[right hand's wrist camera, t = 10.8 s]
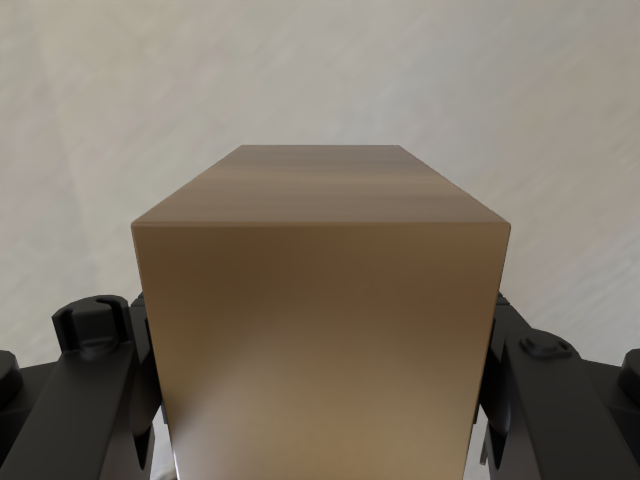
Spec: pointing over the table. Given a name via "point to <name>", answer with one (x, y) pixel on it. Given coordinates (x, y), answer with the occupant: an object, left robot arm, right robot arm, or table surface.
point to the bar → (320, 314)
